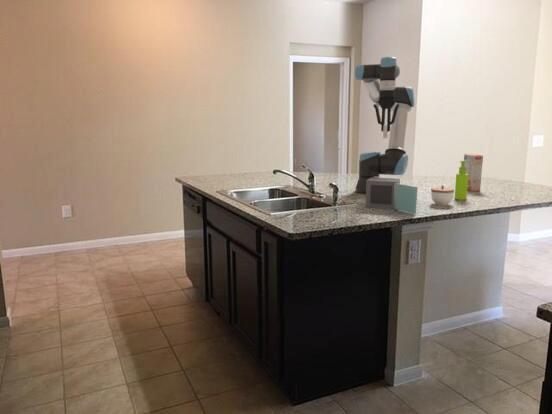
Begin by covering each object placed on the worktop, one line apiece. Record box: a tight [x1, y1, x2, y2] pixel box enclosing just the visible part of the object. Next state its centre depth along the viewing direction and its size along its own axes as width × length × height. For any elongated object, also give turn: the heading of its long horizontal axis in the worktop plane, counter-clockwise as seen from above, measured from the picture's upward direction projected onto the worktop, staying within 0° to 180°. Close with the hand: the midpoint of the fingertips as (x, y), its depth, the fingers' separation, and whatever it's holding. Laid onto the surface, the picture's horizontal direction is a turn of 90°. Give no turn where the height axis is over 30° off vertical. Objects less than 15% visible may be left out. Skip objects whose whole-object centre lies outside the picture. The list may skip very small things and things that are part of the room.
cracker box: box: [463, 153, 484, 192], centre depth 278 cm, size 14×6×21 cm, turn 179°
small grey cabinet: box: [365, 176, 401, 210], centre depth 228 cm, size 12×17×14 cm
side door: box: [392, 183, 418, 215], centre depth 215 cm, size 2×14×12 cm, turn 27°
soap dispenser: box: [454, 160, 471, 200], centre depth 248 cm, size 6×7×20 cm
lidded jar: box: [430, 185, 455, 206], centre depth 233 cm, size 11×11×9 cm
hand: (385, 138), depth 236 cm, fingers closed
